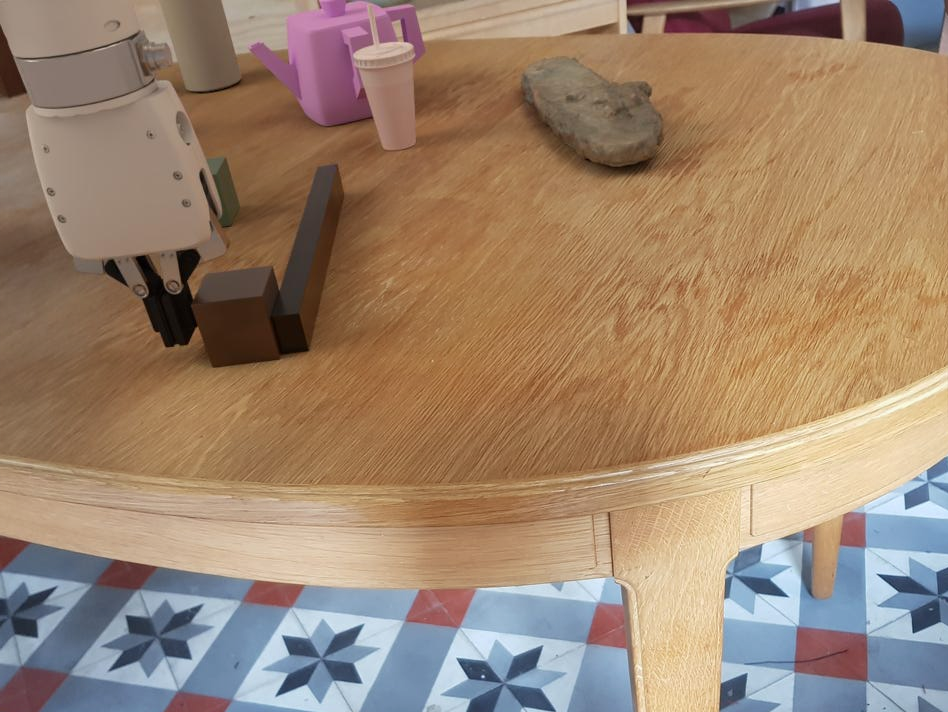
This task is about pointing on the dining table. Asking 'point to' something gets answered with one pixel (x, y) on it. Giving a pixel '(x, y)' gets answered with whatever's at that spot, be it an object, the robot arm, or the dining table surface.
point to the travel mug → (202, 44)
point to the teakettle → (335, 56)
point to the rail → (308, 262)
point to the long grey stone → (594, 111)
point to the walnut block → (238, 316)
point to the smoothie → (389, 88)
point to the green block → (224, 189)
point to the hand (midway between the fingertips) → (181, 337)
